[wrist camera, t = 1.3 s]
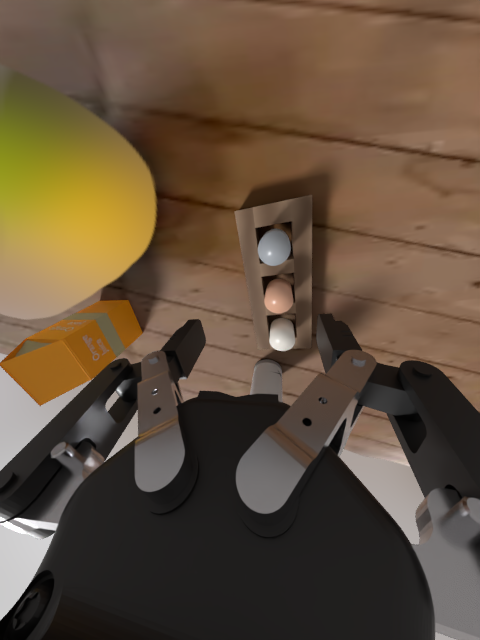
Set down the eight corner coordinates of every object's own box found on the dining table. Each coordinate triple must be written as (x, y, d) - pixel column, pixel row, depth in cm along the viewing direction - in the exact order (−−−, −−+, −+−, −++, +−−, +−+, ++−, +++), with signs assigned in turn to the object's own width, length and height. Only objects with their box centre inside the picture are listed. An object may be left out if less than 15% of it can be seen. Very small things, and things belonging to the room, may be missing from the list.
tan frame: (309, 195, 26) (312, 194, 23) (309, 338, 37) (311, 348, 35) (238, 211, 28) (234, 211, 26) (259, 340, 40) (257, 349, 37)
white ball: (293, 317, 32) (294, 329, 28) (294, 336, 34) (295, 350, 30) (269, 318, 33) (268, 331, 29) (271, 337, 35) (270, 351, 31)
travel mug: (282, 358, 41) (284, 464, 24) (281, 379, 44) (282, 486, 27) (254, 356, 42) (236, 456, 25) (254, 377, 45) (240, 477, 28)
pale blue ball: (288, 226, 25) (289, 228, 22) (290, 256, 27) (291, 263, 24) (258, 231, 26) (255, 234, 23) (262, 260, 28) (259, 267, 25)
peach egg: (291, 276, 28) (292, 286, 25) (292, 300, 30) (293, 312, 27) (264, 279, 29) (262, 289, 26) (267, 303, 31) (265, 314, 28)
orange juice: (128, 299, 40) (19, 365, 23) (143, 333, 45) (60, 409, 28) (99, 300, 42) (-23, 362, 25) (116, 333, 46) (21, 404, 29)
